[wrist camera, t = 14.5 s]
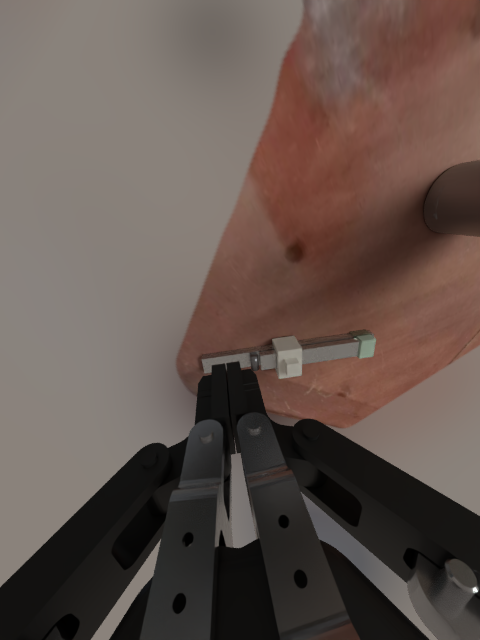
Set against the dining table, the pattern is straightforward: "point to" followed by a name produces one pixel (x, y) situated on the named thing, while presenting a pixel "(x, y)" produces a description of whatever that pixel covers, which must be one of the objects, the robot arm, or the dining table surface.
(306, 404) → the dining table surface
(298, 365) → the lock slider
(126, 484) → the robot arm
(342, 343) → the bar
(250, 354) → the base
